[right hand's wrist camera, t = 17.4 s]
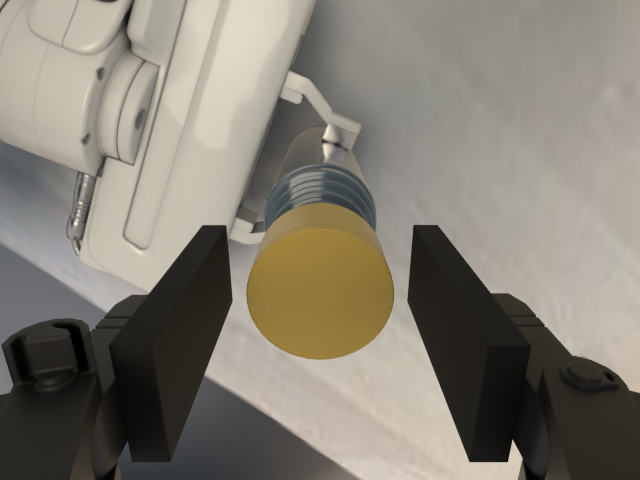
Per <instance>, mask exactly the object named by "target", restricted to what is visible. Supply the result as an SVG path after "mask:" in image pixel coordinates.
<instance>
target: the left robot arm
mask: <svg viewBox="0 0 640 480" xmlns="http://www.w3.org/2000/svg"><path fill="white" fill-rule="evenodd" d="M316 2H317V0H0V141H2V142H4V143H7V144H9V145H12V146H15V147H17V148H20V149H22V150H25V151H28V152H30V153H33V154H36V155H38V156H41V157H43V158H46V159H49V160H51V161H54V162H57V163H59V164H62V165H64V166H67V167H70V168H72V169H75V170H78V175H77V180H76V185H75V190H74V198H73V208H72V212H71V215H70V216H69V218H68V222H67V227H66V234H67V237H68V238H69V239H71V240H72V246H73V249H74V251H75V253H76V254H77V256H78V257H79V260H80V261H81V262H82V263H83V264H85V265H86V266H88V267H91V268H93V269H96V270H99V271H102V272H105V273H108V274H111V275H115V276H116V277H118V278H120V279H122V280H124V281H125V282H127V283H129V284H131V285H133V286H135V287H137V288H139V289H141V290H143V291H145V292H148V293H150V292H151V290H152V289H153V288H154V287H155V285H156V284H157V283H158V281H159V280H160V279H161V278H162V276H163V275H164V274H165V272H166V271H167V270H168V269H169V267H170V266H171V265H172V264H173V262H174V261H175V260H176V258H177V257H178V256H179V255H180V253H181V252H182V251H183V249H184V248H185V247H186V246H187V244H188V243H189V242H190V240H191V239H192V238H193V237H194V235H195V234H196V233H197V232H198V230H199V229H200V228H201V226H202V225H226V226H227V239H228V243H229V240H230V239H232V240H234V241H237V242H240V243H242V244H245V245H251V244H258V243H261V241H262V239H263V237H264V235H265V228H264V222H256V220H257V218H258V213H256V212H254V211H251V210H249V209H246V208H244V207H242V205H243V202H244V199H245V197H246V194H247V191H248V188H249V186H250V183H251V180H252V177H253V175H254V172H255V169H256V166H257V164H258V161H259V158H260V155H261V153H262V150H263V147H264V144H265V142H266V139H267V136H268V133H269V131H270V128H271V125H272V122H273V120H274V117H275V114H276V111H277V109H278V106H279V103H280V100H281V98H282V99H285V100H287V101H290V102H292V103H294V104H297V105H298V104H300V103H301V102H302V100H303V97H304V95H305V97H306V98H307V99H308V101H309V102H310V103H311V104H312V106H313V107H314V108H315V110H316V111H317V112H318V114H319V115H320V116H321V118H322V119H323V120H324V122H325V123H326V125H325V128H324V131H323V133H322V140H325V141H327V142H329V143H333V144H335V143H338V144H339V145H340V147H342V148H344V149H346V150H349V151H351V150H352V148H353V145H354V143H355V141H356V139H357V137H358V134H359V132H360V130H361V128H362V125H361V124H359V123H358V122H356V121H354V120H351V119H349V118H347V117H344V116H342V115H340V114H337V113H335V112H333V110H332V108H331V107H330V105H329V104H328V103H327V101H326V100H325V98H324V97H323V96H322V94H321V93H320V92H319V90H318V89H317V88H316V86H315V85H314V83H313V82H312V81H311V79H308V78H306V77H304V76H302V75H299V74H297V73H295V72H292V71H291V70H292V68H293V65H294V62H295V59H296V57H297V54H298V51H299V48H300V46H301V43H302V40H303V37H304V35H305V32H306V29H307V26H308V24H309V21H310V18H311V15H312V13H313V10H314V7H315V4H316ZM80 240H82V244H81V246H80V242H79V241H80Z"/></svg>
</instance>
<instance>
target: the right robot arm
mask: <svg viewBox="0 0 640 480" xmlns="http://www.w3.org/2000/svg"><path fill="white" fill-rule="evenodd" d="M231 304H232V288H231V276H230V264H229V251H228V239H227V226H226V225H202V226H201V228H200V229H199V230H198V232H197V233H196V234H195V235H194V237H193V238H192V239H191V240H190V242H189V243H188V244H187V246H186V247H185V248H184V249H183V251H182V252H181V253H180V255H179V256H178V257H177V258H176V260H175V261H174V262H173V264H172V265H171V266H170V267H169V269H168V270H167V271H166V272H165V274H164V275H163V276H162V278H161V279H160V280H159V281H158V283H157V284H156V285H155V287H154V288H153V289H152V290H151V292H150V293H149V294H148V295H131V296H129V297H128V298H126V299H124V300H122V301H121V302H119V303H117V304H116V305H114V307H113V308H112V309H111V310H110V311H109V312H108V313H107V314H106V316H105V318H104V319H102V320H101V321H100V322H99V323H98V325H97V326H96V329H93V330H92V331H91V332H90V331H89V327H88V325H87V324H86V323H85V322H83V321H82V320H77V319H72V318H65V319H54V320H49V321H44V322H40V323H37V324H34V325H32V326H29V327H26V328H24V329H22V330H20V331H18V332H17V333H15V334H13V335H12V336H10V337H9V338H8V339H7V340H6V341H5V342H4V343H3V344H2V345H1V346H2V349H3V352H4V356H5V359H6V362H7V365H8V369H9V372H10V375H11V378H12V382H13V385H14V386H13V388H12V390H11V392H10V393H7V394H3V395H0V480H121V475H120V468H119V463H118V458H119V456H120V454H121V452H122V450H123V449H124V447H125V445H126V443H127V441H128V444H129V449H130V453H131V459H132V462H171V459H172V457H173V454H174V451H175V449H176V446H177V444H178V441H179V438H180V436H181V433H182V431H183V428H184V425H185V423H186V420H187V418H188V415H189V413H190V410H191V407H192V405H193V402H194V400H195V397H196V394H197V392H198V389H199V387H200V384H201V381H202V379H203V376H204V374H205V371H206V368H207V366H208V363H209V361H210V358H211V356H212V353H213V350H214V348H215V345H216V343H217V340H218V337H219V335H220V332H221V330H222V327H223V324H224V322H225V319H226V317H227V314H228V312H229V309H230V306H231ZM408 304H409V306H410V309H411V312H412V314H413V317H414V319H415V322H416V324H417V327H418V330H419V332H420V335H421V337H422V340H423V343H424V345H425V348H426V350H427V353H428V356H429V358H430V361H431V363H432V366H433V368H434V371H435V374H436V376H437V379H438V381H439V384H440V387H441V389H442V392H443V394H444V397H445V400H446V402H447V405H448V407H449V410H450V413H451V415H452V418H453V420H454V423H455V425H456V428H457V431H458V433H459V436H460V438H461V441H462V444H463V446H464V449H465V451H466V454H467V457H468V459H469V462H508V459H509V454H510V449H511V444H512V439H513V441H514V442H515V444H516V446H517V448H518V450H519V452H520V454H521V456H522V458H523V459H522V463H521V468H520V472H519V477H518V480H640V393H637V392H633V391H629V389H628V387H627V385H626V384H625V383H624V381H623V380H622V379H621V378H620V377H619V375H617V374H616V373H614V372H613V371H611V370H610V369H608V368H607V367H605V366H603V365H601V364H599V363H596V362H594V361H592V360H589V359H585V358H581V357H577V356H572V355H571V354H570V353H569V352H568V350H567V349H566V348H565V347H564V346H563V345H562V344H561V343H560V341H559V340H558V339H557V338H556V337H555V336H554V335H553V334H552V333H551V331H550V330H549V329H548V328H547V327H545V325H544V324H543V323H542V321H541V320H540V319H539V318H538V317H536V315H535V314H534V313H533V311H532V310H531V309H530V308H529V307H528V306H527V305H526V304H525V303H524V302H522V301H520V300H519V299H517V298H515V297H514V296H512V295H510V294H508V293H490V292H489V290H488V289H487V288H486V287H485V285H484V284H483V283H482V281H481V280H480V279H479V278H478V276H477V275H476V274H475V272H474V271H473V270H472V269H471V267H470V266H469V265H468V264H467V262H466V261H465V260H464V258H463V257H462V256H461V255H460V253H459V252H458V251H457V249H456V248H455V247H454V246H453V244H452V243H451V242H450V240H449V239H448V238H447V237H446V235H445V234H444V233H443V232H442V230H441V229H440V228H439V226H438V225H414V226H413V239H412V251H411V264H410V276H409V288H408Z"/></svg>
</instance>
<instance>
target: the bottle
mask: <svg viewBox="0 0 640 480" xmlns="http://www.w3.org/2000/svg"><path fill="white" fill-rule="evenodd" d="M324 128H325V126H315V127H311V128H308V129H306V130H304V131H302V132H301V133H299V134H298V135H297V136H296V137H295V138H294V140H293V141H292V143H291V144H290V147H289V149H288V151H287V154H286V156H285V158H284V161H283V163H282V165H281V168H280V170H279V172H278V175H277V177H276V179H275V182H274V184H273V186H272V189H271V191H270V193H269V196H268V198H267V201H266V205H265V211H264V228H265V233H266V231H267V230H268V229H269V227H270V226H271V225H272V224H273V223H274V222H275V220H276V219H278V218H279V217H280V216H282V215H283V214H284V213H286V212H288V211H289V210H292V209H294V208H296V207H299V206H302V205H306V204H313V203H327V204H334V205H338V206H342V207H344V208H347V209H349V210H351V211H353V212H355V213H356V214H358V215H359V216H360V217H362V218H363V219H364V220H365V221H366V222H367V223H368V224H369V225H370V226H371V228H372V229H373V230H374V232H375V231H376V208H375V203H374V200H373V197H372V194H371V192H370V190H369V187H368V185H367V183H366V181H365V178H364V176H363V174H362V171H361V169H360V167H359V164H358V162H357V160H356V157H355V155H354V153H353V150H351V151H349V150H346V149H344V148H342V147H340V145H339V144H338V143H335V144H333V143H329V142H327V141H325V140H322V133H323V131H324Z"/></svg>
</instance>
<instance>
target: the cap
mask: <svg viewBox="0 0 640 480" xmlns="http://www.w3.org/2000/svg"><path fill="white" fill-rule="evenodd" d="M246 295H247V304H248V308H249V312H250V315H251V317H252V320H253V321H254V323H255V325H256V327H257V328H258V329H259V331H260V332H261V333H262V334H263V335H264V337H265V338H266V339H267V340H269V341H270V342H271V343H272V344H274V345H275V346H276V347H278V348H280V349H281V350H283V351H285V352H288V353H290V354H292V355H295V356H299V357H303V358H308V359H332V358H338V357H342V356H345V355H348V354H351V353H353V352H355V351H357V350H359V349H361V348H362V347H364V346H366V345H367V344H368V343H370V342H371V341H372V340H373V339H374V338H375V337H376V336H377V335H378V334H379V333H380V332H381V330H382V329H383V327H384V326H385V324H386V322H387V320H388V318H389V316H390V313H391V311H392V307H393V302H394V286H393V281H392V277H391V273H390V271H389V268H388V265H387V262H386V259H385V256H384V254H383V251H382V248H381V245H380V242H379V240H378V238H377V236H376V234H375V232H374V230H373V229H372V228H371V226H370V225H369V224H368V223H367V222H366V221H365V220H364V219H363V218H362V217H360V216H359V215H358V214H356V213H355V212H353V211H351V210H349V209H347V208H344V207H342V206H338V205H334V204H327V203H313V204H306V205H302V206H299V207H296V208H294V209H292V210H289V211H288V212H286V213H284V214H283V215H282V216H280V217H279V218H278V219H276V220H275V222H274V223H273V224H272V225H271V226H270V227H269V229H268V230H267V231H266V233H265V235H264V237H263V239H262V241H261V244H260V247H259V250H258V253H257V255H256V258H255V261H254V264H253V267H252V270H251V272H250V275H249V279H248V283H247V294H246Z"/></svg>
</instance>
